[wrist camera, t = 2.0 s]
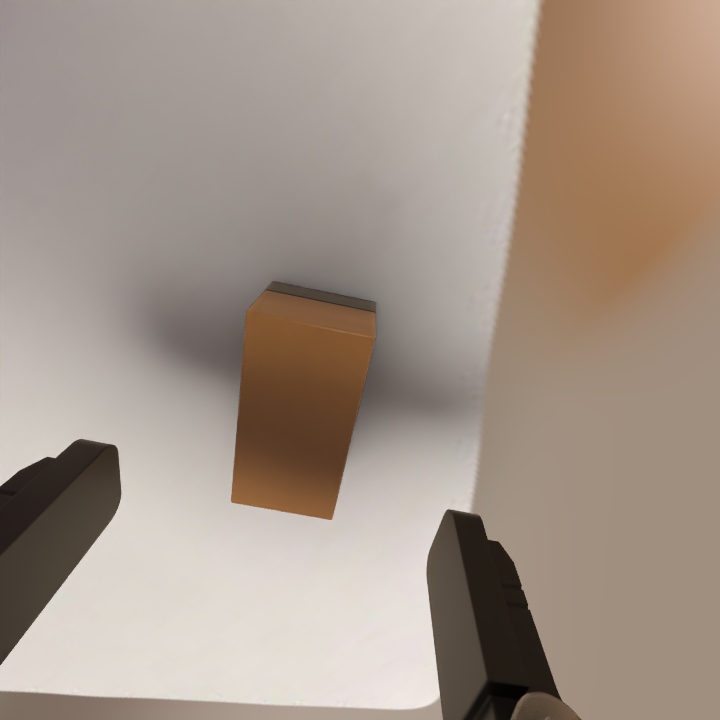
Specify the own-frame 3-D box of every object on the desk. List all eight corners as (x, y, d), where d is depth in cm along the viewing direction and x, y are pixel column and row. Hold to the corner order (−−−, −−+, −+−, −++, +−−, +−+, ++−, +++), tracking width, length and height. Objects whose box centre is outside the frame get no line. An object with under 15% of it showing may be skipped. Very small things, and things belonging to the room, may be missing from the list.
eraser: (272, 280, 13) (245, 310, 11) (376, 302, 13) (376, 336, 11) (254, 447, 16) (230, 503, 14) (339, 462, 16) (332, 521, 14)
